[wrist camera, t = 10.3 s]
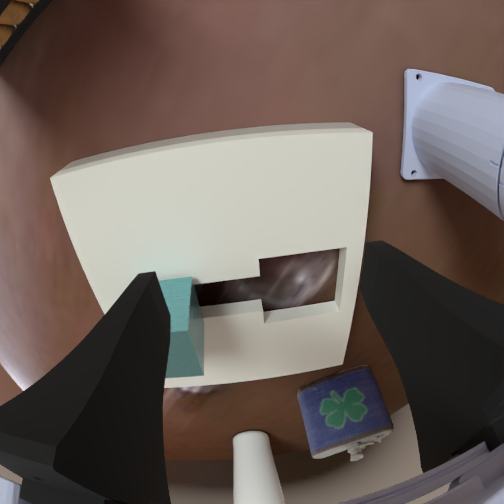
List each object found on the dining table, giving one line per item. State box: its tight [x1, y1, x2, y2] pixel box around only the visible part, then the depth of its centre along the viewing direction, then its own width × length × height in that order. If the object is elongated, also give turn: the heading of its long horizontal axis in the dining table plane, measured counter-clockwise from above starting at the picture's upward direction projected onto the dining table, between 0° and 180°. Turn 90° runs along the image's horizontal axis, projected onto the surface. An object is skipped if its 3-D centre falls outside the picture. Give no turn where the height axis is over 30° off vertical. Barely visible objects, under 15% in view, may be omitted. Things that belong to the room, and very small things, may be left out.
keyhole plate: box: [50, 122, 373, 388], centre depth 21 cm, size 18×20×3 cm
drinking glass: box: [233, 431, 285, 504], centre depth 33 cm, size 7×7×15 cm
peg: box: [159, 277, 204, 378], centre depth 19 cm, size 4×4×8 cm
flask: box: [297, 365, 393, 461], centre depth 28 cm, size 9×3×11 cm, turn 110°
